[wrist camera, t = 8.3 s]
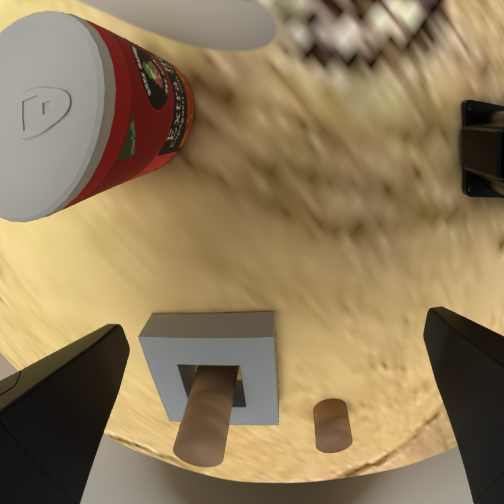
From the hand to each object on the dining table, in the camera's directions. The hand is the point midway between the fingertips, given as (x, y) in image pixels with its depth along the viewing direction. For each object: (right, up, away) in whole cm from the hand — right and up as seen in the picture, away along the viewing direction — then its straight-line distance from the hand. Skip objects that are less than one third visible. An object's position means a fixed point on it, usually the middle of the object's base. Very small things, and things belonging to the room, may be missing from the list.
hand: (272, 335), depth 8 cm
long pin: (-3, -6, +16) cm, 17 cm away
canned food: (-8, +11, +9) cm, 16 cm away
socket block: (-3, -6, +16) cm, 17 cm away
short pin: (+6, -12, +17) cm, 22 cm away
